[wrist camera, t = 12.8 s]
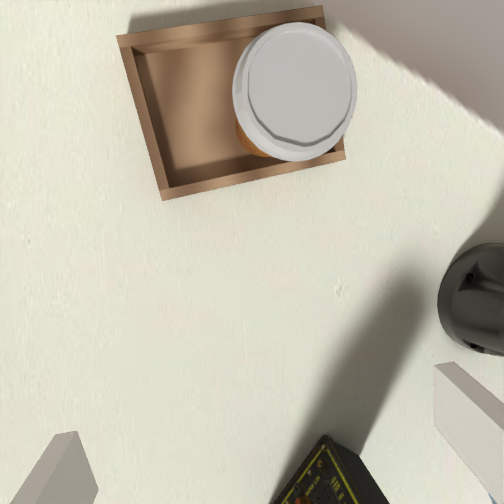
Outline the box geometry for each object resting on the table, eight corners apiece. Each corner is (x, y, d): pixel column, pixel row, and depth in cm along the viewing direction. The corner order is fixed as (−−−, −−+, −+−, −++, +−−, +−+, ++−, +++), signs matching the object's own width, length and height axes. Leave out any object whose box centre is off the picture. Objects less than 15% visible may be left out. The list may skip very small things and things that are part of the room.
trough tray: (311, 21, 34) (322, 5, 31) (333, 162, 37) (345, 159, 34) (123, 51, 31) (115, 35, 28) (164, 200, 34) (162, 200, 31)
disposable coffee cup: (201, 127, 32) (205, 88, 21) (261, 59, 32) (299, -19, 21) (266, 190, 35) (303, 187, 23) (322, 126, 35) (388, 90, 23)
